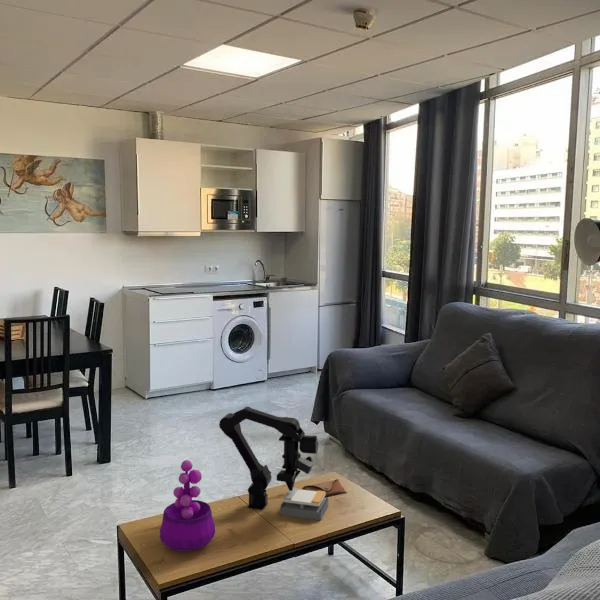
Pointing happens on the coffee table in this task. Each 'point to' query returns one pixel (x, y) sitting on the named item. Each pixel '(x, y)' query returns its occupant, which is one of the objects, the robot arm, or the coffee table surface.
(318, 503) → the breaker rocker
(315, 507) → the box
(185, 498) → the decorative plant
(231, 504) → the coffee table surface
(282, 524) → the coffee table surface
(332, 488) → the sunglasses case
